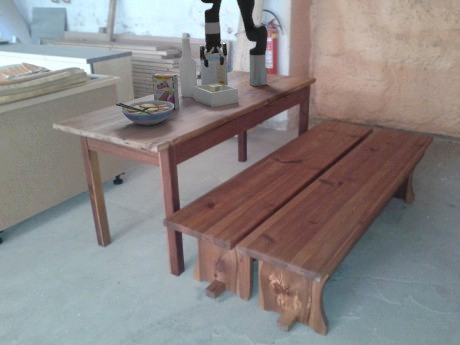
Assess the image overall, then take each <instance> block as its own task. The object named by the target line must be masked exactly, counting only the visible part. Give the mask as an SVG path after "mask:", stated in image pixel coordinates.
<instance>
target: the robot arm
mask: <svg viewBox="0 0 460 345" xmlns="http://www.w3.org/2000/svg"><path fill="white" fill-rule="evenodd" d="M200 1H201V2H202V3H203V4H212V6H211V7H210V8H207V9H205V10H204V39H205V45H200V46H199V59H200V58H202V59H204V66H205V67H209V66H208V60H207V59H208V58H209V56H210V55H211V54H214V53H216V54H219V56H220V65H223V64H224V57H225V56H227V57H228V48H227V47H228V46H227V43H225V42H222V43H221V41H222V37H221V36H222V35H221V23H220V22H221V21H220V10H221V5H222V1H223V0H200ZM236 2H237V6H238V9H239V11H240V16H241V18H242V22H243V27H244V32H245V36H246V38H247V41H249V42H251V43H252V42H253V43H255V46H254V47H253V48H250V49H249V50H248V51H249V55H248V56H249V58H248V60H249V85H250V86H253V87H257V86H258V87H260V86H261V87H262V86H265V85H267V84H268V80H267V79H268V68H267V67H266V52H267V48H268V29H267V27H266V26H265V25H264V24H263V25H262V24H255V22H254V19H253V18H254V17H253V12H254V8H255V4H256V1H255V0H236Z"/></svg>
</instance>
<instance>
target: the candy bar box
mask: <svg viewBox="0 0 460 345" xmlns="http://www.w3.org/2000/svg"><path fill="white" fill-rule="evenodd" d="M178 82H179V81H178V75H177V74H175V73H174V74H173V73H171V74H170V73H155V74H154V73H153V74H152V86H153V88H152V90H153V97H154V98H153V101H167V102H171V103H173V104H174V109H173V111H177V110H178V109H179V108H180V98H179V94H180V93H179V83H178Z"/></svg>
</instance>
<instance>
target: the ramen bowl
mask: <svg viewBox="0 0 460 345" xmlns="http://www.w3.org/2000/svg"><path fill="white" fill-rule="evenodd" d="M115 106H118V107H121V109H120V111H121V113H122V114H123V115H124V116H125V118H127V119H128V120H129V121H131V122H133V123H135V124H139V125H141V126H155V125H157V124H159V123H161V122H163V121H165V120H166V119H167V118H169V117H170V115H171V114H172V113H173V111H174V110H173V109H174V104H173V103H171V102H167V101H154V99H153V100H152V99H151V100H142V101H137V102H136V101H135V102H130V103H128V104H125V103H121V102H120V103H119V102H118V103H116V104H115Z"/></svg>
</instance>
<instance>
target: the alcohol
mask: <svg viewBox="0 0 460 345" xmlns="http://www.w3.org/2000/svg"><path fill="white" fill-rule="evenodd" d="M181 41H182V45H181V46H182V48H181V49H182V52H181V53H182V54H181V57H180V59H179V60H178V71H179V86H180V87H179V88H180V95H181V97H182V98H193V86H198V82H197V81H198V78H197V62H196V60H195V58H194V57H193V55H192V49H191V40H190V37H182V38H181Z"/></svg>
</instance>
